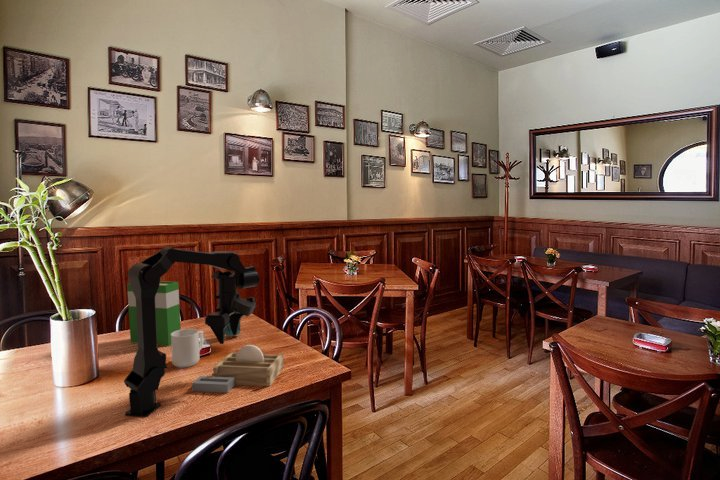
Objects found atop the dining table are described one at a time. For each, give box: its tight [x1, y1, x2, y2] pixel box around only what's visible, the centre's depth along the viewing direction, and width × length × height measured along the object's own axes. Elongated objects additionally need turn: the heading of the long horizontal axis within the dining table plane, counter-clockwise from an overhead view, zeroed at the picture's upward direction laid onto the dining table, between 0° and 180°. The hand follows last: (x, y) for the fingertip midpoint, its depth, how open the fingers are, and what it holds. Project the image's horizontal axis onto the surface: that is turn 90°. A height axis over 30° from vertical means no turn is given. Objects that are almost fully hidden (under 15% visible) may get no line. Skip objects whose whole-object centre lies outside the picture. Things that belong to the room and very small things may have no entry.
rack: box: [212, 350, 285, 387], centre depth 133 cm, size 14×18×5 cm
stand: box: [191, 375, 236, 394], centre depth 124 cm, size 5×11×2 cm, turn 84°
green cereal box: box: [126, 280, 182, 347], centre depth 165 cm, size 18×7×24 cm, turn 77°
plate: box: [236, 344, 264, 362], centre depth 132 cm, size 1×9×9 cm, turn 83°
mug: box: [170, 328, 204, 369], centre depth 144 cm, size 12×9×11 cm
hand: (228, 339), depth 131 cm, fingers open, 9 cm apart
